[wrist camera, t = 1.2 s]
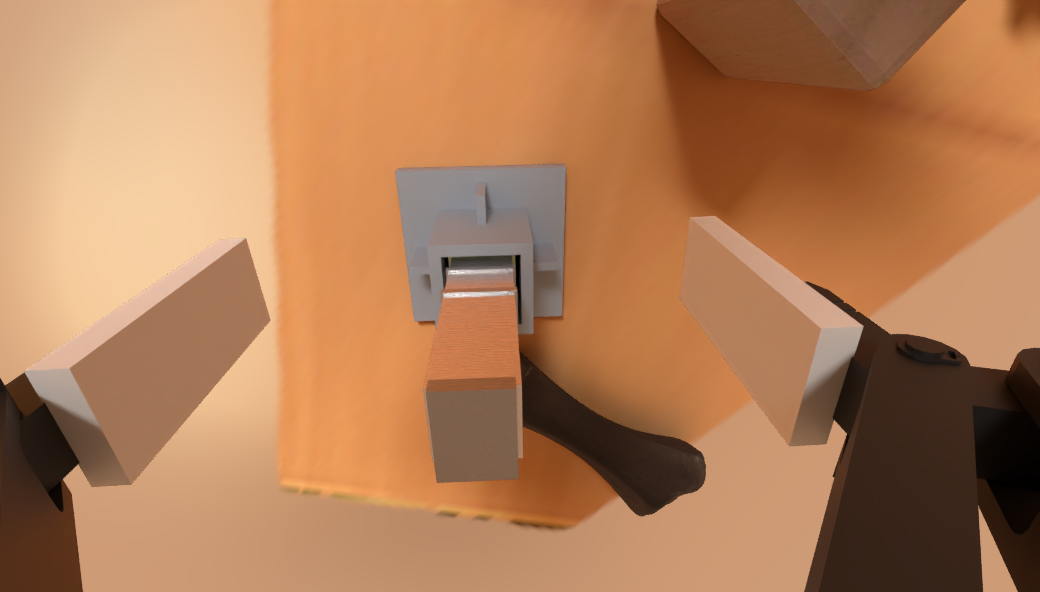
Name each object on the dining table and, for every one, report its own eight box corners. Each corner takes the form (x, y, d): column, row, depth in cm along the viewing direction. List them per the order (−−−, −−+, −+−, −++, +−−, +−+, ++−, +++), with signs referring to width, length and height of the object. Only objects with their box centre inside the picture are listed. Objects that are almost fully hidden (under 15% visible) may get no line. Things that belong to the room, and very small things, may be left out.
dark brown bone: (680, 441, 67) (512, 331, 62) (730, 465, 57) (534, 335, 52) (641, 512, 66) (465, 405, 61) (684, 550, 55) (478, 425, 50)
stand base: (398, 168, 47) (370, 199, 37) (563, 164, 48) (582, 193, 37) (416, 314, 54) (397, 375, 44) (560, 309, 55) (575, 368, 44)
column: (454, 222, 48) (413, 392, 24) (512, 220, 48) (528, 388, 24) (459, 278, 51) (425, 483, 26) (513, 276, 51) (529, 478, 27)
